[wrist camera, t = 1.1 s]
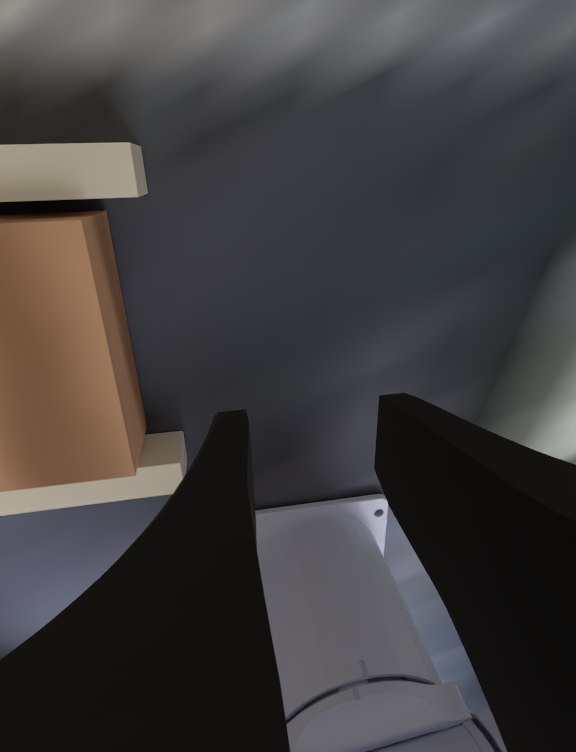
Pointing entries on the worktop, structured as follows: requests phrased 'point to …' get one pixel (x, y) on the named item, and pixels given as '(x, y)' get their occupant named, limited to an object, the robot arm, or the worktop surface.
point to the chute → (88, 181)
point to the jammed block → (64, 355)
